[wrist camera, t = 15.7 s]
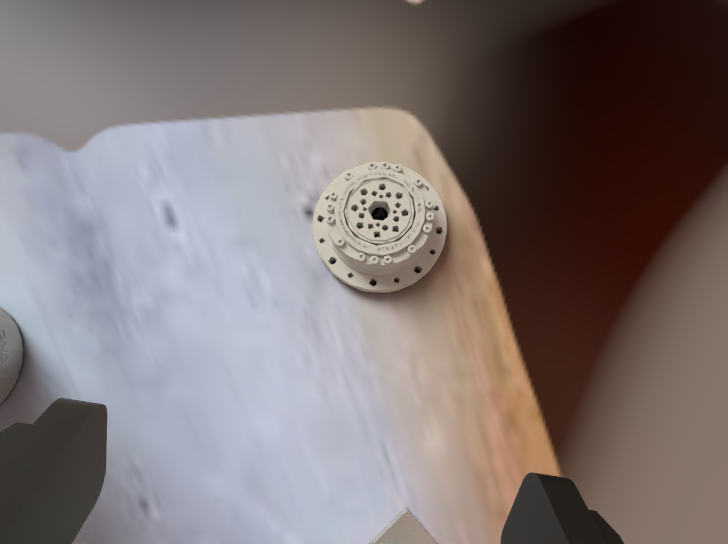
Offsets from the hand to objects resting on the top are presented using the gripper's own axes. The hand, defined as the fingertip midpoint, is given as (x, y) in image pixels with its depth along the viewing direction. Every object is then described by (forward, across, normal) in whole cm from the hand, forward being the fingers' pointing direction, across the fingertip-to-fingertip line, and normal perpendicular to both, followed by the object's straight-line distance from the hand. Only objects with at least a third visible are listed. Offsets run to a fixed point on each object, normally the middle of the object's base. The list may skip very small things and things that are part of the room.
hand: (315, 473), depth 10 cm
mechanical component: (+30, -3, +4) cm, 30 cm away
